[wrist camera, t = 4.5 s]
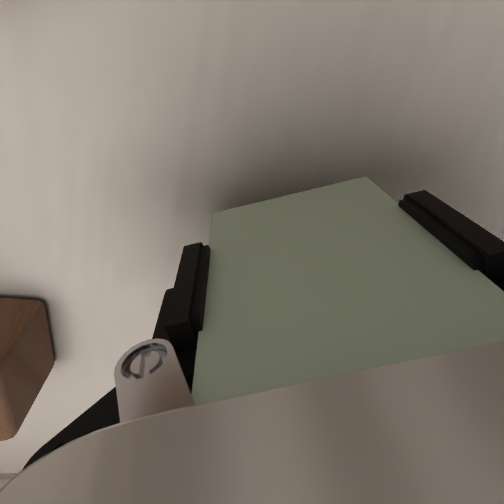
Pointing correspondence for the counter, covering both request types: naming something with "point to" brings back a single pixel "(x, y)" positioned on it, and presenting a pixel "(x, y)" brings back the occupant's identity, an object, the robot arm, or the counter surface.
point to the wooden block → (22, 359)
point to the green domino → (331, 292)
